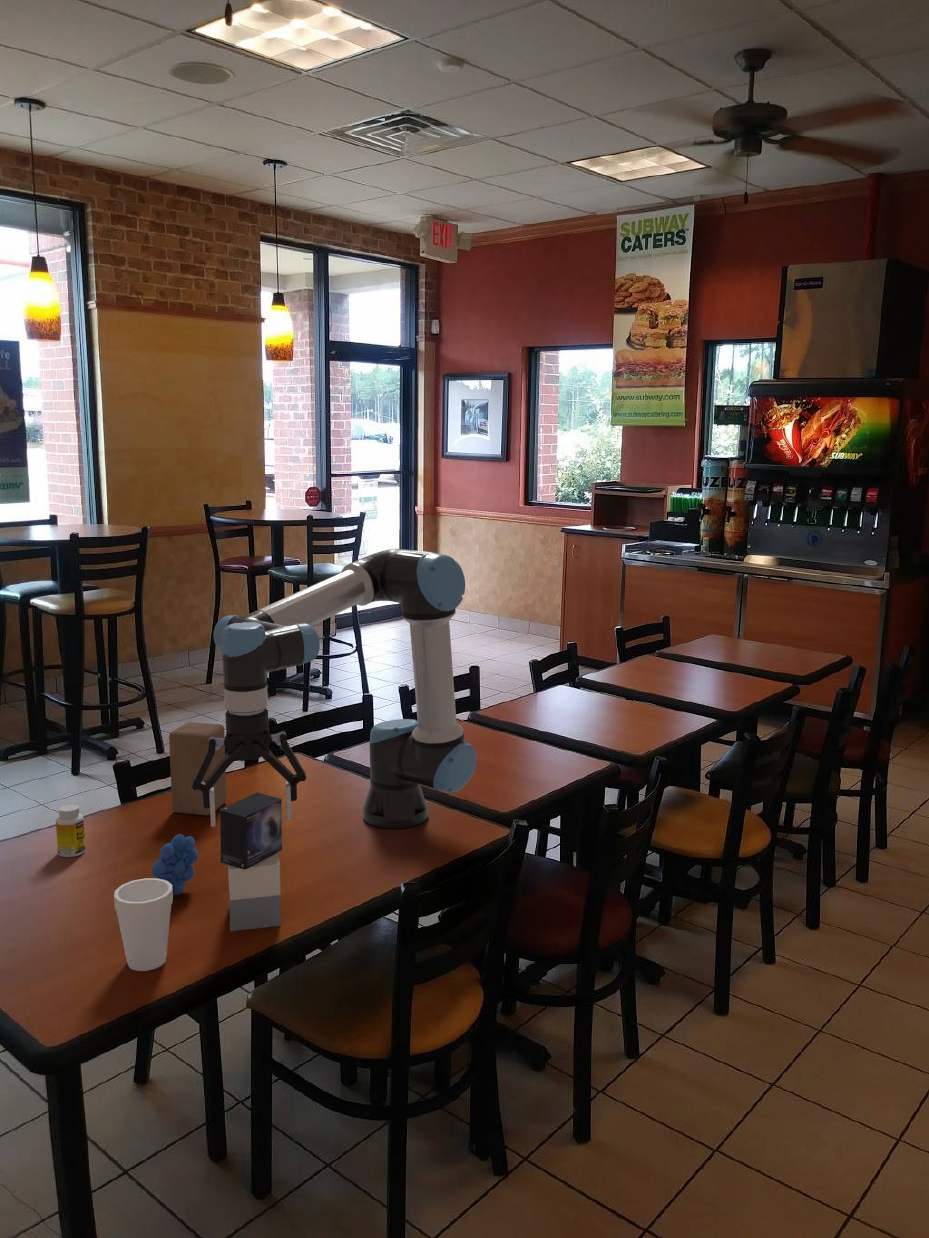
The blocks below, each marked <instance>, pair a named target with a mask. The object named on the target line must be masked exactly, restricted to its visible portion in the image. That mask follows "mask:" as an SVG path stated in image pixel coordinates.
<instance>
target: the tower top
mask: <svg viewBox="0 0 929 1238" xmlns="http://www.w3.org/2000/svg"><path fill="white" fill-rule="evenodd" d="M227 868H228V869H227V872H228V873H227V875H228V879H229V880H228V893H229V892H230V900H239V899H248V898H258V897H267V896H277V895H280V896H281V864H280V858H279V852H278V853H276V854H274V855H272V856H270V857H268V858H266V859H265V860H263V861H261V862H259V863H257V864H255V865H253V866H252V867H250V868H248V869H246V870H244V869H241V868H237V867H234V866H231V865H227Z"/></svg>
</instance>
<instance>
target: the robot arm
mask: <svg viewBox="0 0 929 1238" xmlns="http://www.w3.org/2000/svg"><path fill="white" fill-rule="evenodd" d="M465 591H466V579H465V574H464V571H463V569H462V567H461V565H460V564H459V562H457V561H456V560H455V558H453V557H452V556H449V555H447V554H442V553H439V552H435V551H421V550H412V549H402V548H388V549H385V550H381V551H377V552H375V553H372V554H369V555H367V556H364V557H362V558H359V559H356V560H355V561H353V562H350V563H347V564H346V565H345V566H343V567H342V569H341V572H340V573H337V574H334V575H333V576H330V577H328V578H326V579H324V580H321V581H319V582H317V583H315V584H312V585H310V586H308V587H306V588H304V589H301V590H300V591H297V592H295V593H293V594H291V595H288V596H286V597H283V598H282V599H280V600H278V601H275V602H272V603H270V604H269V605H266V606H264V607H261V608H258V609H257V610H254V611H252V612H250V613H248V614H245V615H242V616H241V615H238V614H234V615H226V616H224V617H222V618H220V619H219V620H218V621H217V623H216V625H215V626H214V628H213V629H214V630H213V641H214V644H215V647H217V649H218V650H220V651H221V652H220V653H221V658H222V671H223V672H222V673H223V674H222V675H223V693H224V694H223V695H224V709H225V710H226V712H225V713H224V714H225V735H224V737H225V738H216V737H215V736H213V735H212V736H210V737H209V746H208V749H207V751H206V754H205V756H204V758H203V760H202V762H201V764H200V766H199V769H198V771H197V773H196V775H195V777H194V779H193V782H192V789H193V790H200V791H202V793H203V806H204V808H205V809H206V808H210V815H209V816H210V827H211V828H215V827H216V811H215V800H214V787H213V785H214V784H215V783H216V782H217V780H218V779H219V778H220V777H221V775H222V774H223V773H224V772H225V771H227V769H228V768H229V767H231V765H233V763H234V762H235V761H236V760H238V761H240V762H245V761H248V760H251V761H256V760H257V761H258V760H259V759H260V758H262V759H263V760H264V761H266V762H268V764H269V765H270V766H271V767H272V768H273V769H274V770H275V771H277V773H278V774H279V775H280V776H281V777H282V778H284V780H286V781H285V783H284V784H285V807H286V808H285V809H286V819H287V820H286V821H291V820H292V802H296V801H297V799H298V791H297V790H298V787H297V786H298V784H299V783H300V782H305V781H306V780H307V775H306V774H307V773H306V771H305V770H304V768H303V766H302V765H301V763H300V761H299V759H298V758H297V756H296V754H295V752H294V751H293V749H292V747H291V746H290V744H289V742H288V738H287V737H288V736H287V733H286V731H285V730H281V731H279V732H278V733H277V732H276V733H272V734H271V732H270V727H269V724H270V723H269V710H268V709H267V707H268V706H269V705H268V703H269V702H268V673H273V672H275V671H280V670H285V669H288V668H293V667H297V666H303V665H304V664H307V663H310V662H312V661H314V660H315V659H316V658H317V657H318V655H319V653H320V649H321V647H320V645H321V644H320V637H319V634H318V633H317V631H316V629H315V628H314V626H315V625H317V624H319V623H320V622H323V621H325V620H328V619H329V618H331V617H334V616H335V615H337V614H339V613H341V612H344V611H345V610H347V609H350V608H352V607H354V606H360V607H361V606H362V607H364V606H367V605H370V604H371V603H374V602H393V603H398V604H400V608H401V609H400V610H401V618H402V619H403V620H405V621H406V622H407V623H408V624H409V632H410V644H411V645H410V646H411V658H412V668H413V669H412V670H413V680H414V681H413V682H414V692H415V705H416V706H415V707H416V716H417V719H414V718H413V719H411V718H399V719H390V720H386V721H382V722H379V723H376V724H375V725H373V727H372V728H371V730H370V734H369V735H370V737H369V738H370V740H369V766H370V767H369V771H370V772H369V774H370V775H369V776H370V778H369V779H370V786H369V789H368V792H367V795H366V799H365V801H364V805H363V808H362V815H363V816H362V818H363V820H364V821H365V822H366V823H367V824H369V825H371V826H374V827H377V828H382V829H390V830H391V829H394V830H395V829H397V830H398V829H404V828H405V829H407V828H411V827H414V826H415V827H416V826H418V825H420V824H423V823H424V822H425V821H426V820H427V818H428V805H427V802H426V800H425V796H424V793H423V791H422V790H423V789H422V787H421V786H424V787H428V788H430V789H434V790H435V791H438V792H445V793H457V792H458V791H460V790H462V789H464V787H465V786H467V784H468V783H469V781H470V780H471V778H472V776H473V774H474V772H475V770H476V765H477V751H476V749H475V747H473V745H472V744H471V743H470V742H467V741H466V742H465V730H464V728H463V726H462V725H461V724H460V723H459V722H457V713H456V712H457V711H456V699H455V697H456V696H455V684H454V670H453V668H454V667H453V657H452V644H451V643H452V642H451V641H452V640H451V628H450V627H451V626H450V620H451V619H452V618H453V617H454V616H455V615H456V612H457V611H456V608H458V607H459V605H461V604H462V601H463V599H464V598H463V595H465ZM272 742H274V743H275V744H276V745H277V746H281V750H282V752H283V754H284V755H285V756H286V758H287V760H288V762H289V763H290V765H291V767H292V768H293V771H294V772H295V774H294V773H293V772H292V771H291V770H290V769H289V768H288V767H287V766H286V765H285V764H284V763H283V762H282V761H281V760H280V759H279V758H278V757H277V756H276V755H275V754H273V752H272V751H271V750H270V749H269V747H270V745H271V744H272ZM221 745H225V749H227V750H228V751H227V752H226V753H225V757H224V758H223V759H222V761H221V762H220V763H219V764H218V766H217V767H216V768H215V769H214V771H213V772H212V773H211V774H210V775H209V777H208V778H207V779H206V780H205V782H202V780H203V778H204V775H205V773H206V771H207V769H208V767H209V765H210V763H211V761H212V758H213V756H214V754H215V750H219V749H220V746H221Z"/></svg>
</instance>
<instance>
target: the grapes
mask: <svg viewBox="0 0 929 1238" xmlns="http://www.w3.org/2000/svg"><path fill="white" fill-rule="evenodd" d="M195 844H196V841H195V839H194V837H193V836H192V835H191V836H190V835H188V836H186V837H185V835H183V834H182V833H179V834H176V835H175V836H174V837H173V838H172V840H171V842H169V843H165V844H164V845H163V846H162V847H161V848H160V850H159V858H160V859H159V860H157V861H155V862H154V863H153V865H152V867H151V874H152V875H153V877H154V878H158V879H162V880H167V881H168V882H169V883H171V884H172V891H173V896H178V895H180V894H182V892H183V891H184V889H185V882H189V881H190V880H192V878H193V877H194V875H195V868H194V867H193V864H195V863H196V862H197V860H198V859H199V852H198V850H197V849H196V848H195Z"/></svg>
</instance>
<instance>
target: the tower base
mask: <svg viewBox="0 0 929 1238" xmlns="http://www.w3.org/2000/svg"><path fill="white" fill-rule="evenodd" d="M228 881H229V878H228ZM228 899H229V900H228V906H229V907H228V909H229V931H230V932H235V931H243V930H244V931H245V930H253V929H262V928H271V927H281V894H280V895H277V896H267V897H258V898H248V899H239V900H230V892H229V891H228Z"/></svg>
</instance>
